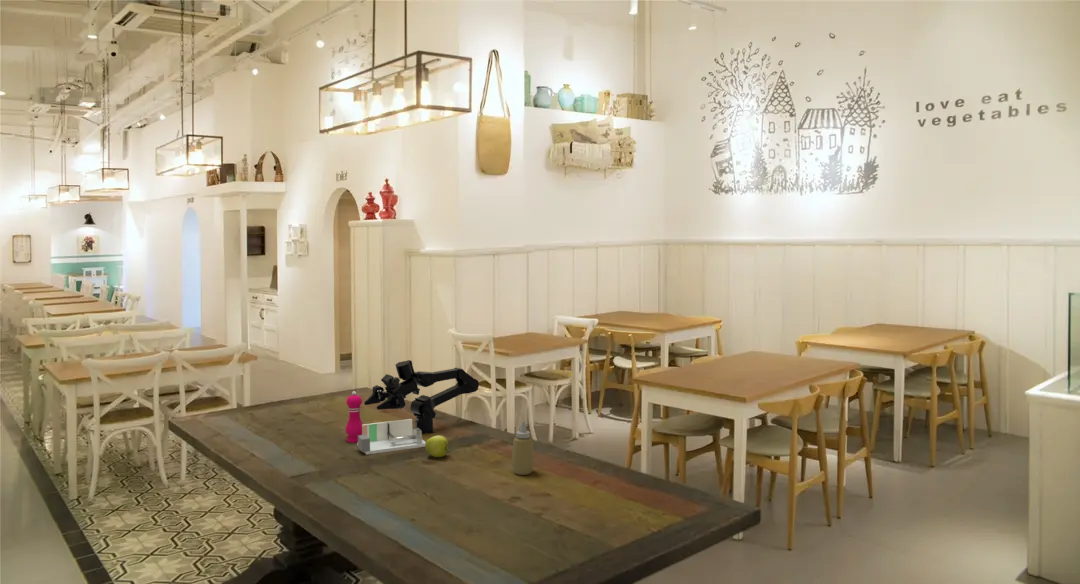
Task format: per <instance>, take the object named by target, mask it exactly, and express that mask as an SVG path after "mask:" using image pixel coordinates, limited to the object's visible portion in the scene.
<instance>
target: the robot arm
mask: <svg viewBox="0 0 1080 584" xmlns="http://www.w3.org/2000/svg"><path fill="white" fill-rule="evenodd" d="M395 370H396V372H397V375H398V377H394V376H393V375H390V374H387V373H386V374H385V375H384V376H383V377H382V378H381V379H380V380H381V382H382V383H383V384H384V386H385V387H383V386H379V385H377V384H376V385H374V386H372V389H371V390H372V393H371V394H370V396H369V397H368V398H367V399H366V400H365V401H364V403H363V404H364V405H365V406H367V405H373V404H375V405H376V404H379V405H378V406H376V410H401V409H404V407H405V406H406V402H405V399H406V398H407V396H408V395H409V394H413V395H417V396H418V395H419V396H418V397H414V400H412V401H411V404H410V411H411V412H412V414H413V416H414V417H415V421H414V428H419V429H420V430H421V431H422V435H425V434H430V433H435V430H434V419H435V418H436V415H437V412H435V410H434V409H435V408H436V407H437V406H439V405H441V404H443V403H446V402H448V401H451V400H452V399H454V398H456V397H459V396H461V395H465V394H472V393H476V392H477V391H478V389H479V386H480V383H479V381H478V379H476V378H474V377H473V376H471V375H470V374H468V372H466V371H465V370H464V369H463V368H461V367H454V368H450V369H449V368H448V369H444V370H436V371H433V372H432V371H415V370H414V367H413V362H412V360H410V359H408V360H404V361H399V362H397V363H396V364H395ZM454 379H455V380H456V384H455V385H452V386H450V387H449V388H446V389H444V390H441V391H440V392H438V393H436V394H434V395H431V396H428V395H424V394H422V395H420V391H421V389H420V388H419V387H423V388H428V387H430V386H432V385H434V384H436V383H437V382H442V381H443V382H444V381H449V380H454ZM400 381H401V382H400ZM418 386H419V387H418Z"/></svg>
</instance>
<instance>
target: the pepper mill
mask: <svg viewBox="0 0 1080 584" xmlns="http://www.w3.org/2000/svg"><path fill="white" fill-rule="evenodd" d="M362 399H363V398H362V396H360V395H358V394H357V392H356V391H354V390H353V391H352V392H351V395H349V396H348V397H347V398H346V405H347V406H348V408H347V411H348V414H349V415H348V417H349V418H348V421H347V423H346V426H345V433H346V434H347V436H346V442H347V443H356V444H357V443H358V436H359V435H362V425H363V424H364V423H363V421H362V419H361V415H360V414H361V411H362V410H361V409H362V407H361V406H362V405H363V400H362Z"/></svg>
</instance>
